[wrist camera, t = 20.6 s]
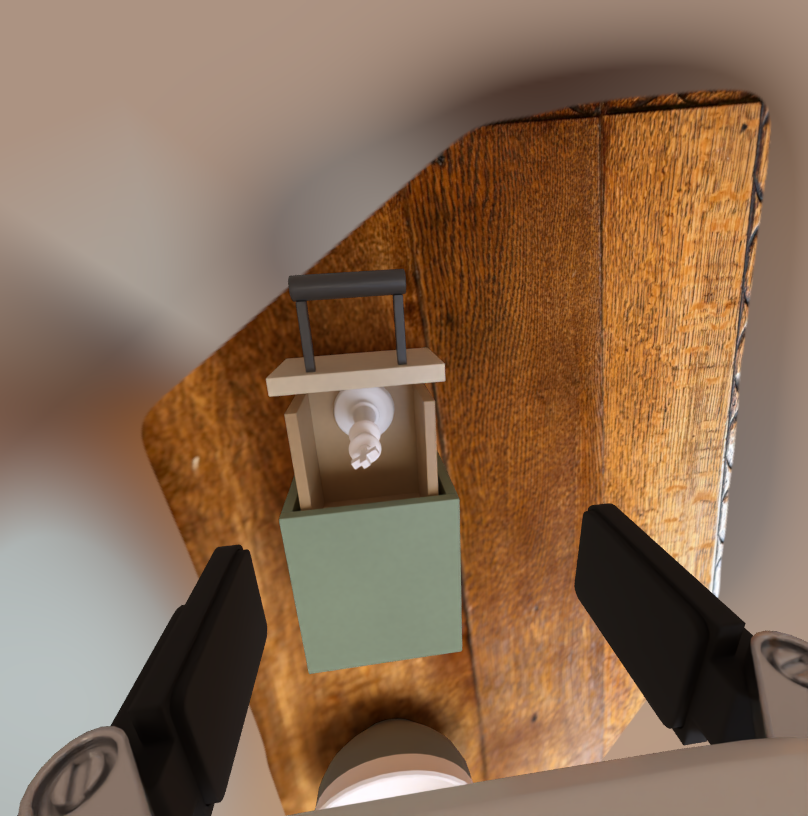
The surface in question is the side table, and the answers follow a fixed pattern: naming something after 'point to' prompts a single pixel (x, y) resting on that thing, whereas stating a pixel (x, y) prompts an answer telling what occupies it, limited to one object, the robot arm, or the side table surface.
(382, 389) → the chess piece
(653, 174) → the side table surface
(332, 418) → the drawer
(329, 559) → the cabinet
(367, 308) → the side table surface
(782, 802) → the robot arm
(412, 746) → the bowl
